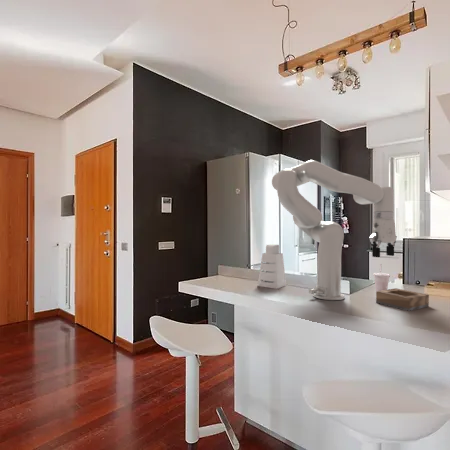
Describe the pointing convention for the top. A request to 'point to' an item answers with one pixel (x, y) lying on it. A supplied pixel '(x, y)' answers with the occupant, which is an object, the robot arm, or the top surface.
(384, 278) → the smoothie
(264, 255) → the grater
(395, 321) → the top surface
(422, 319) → the top surface
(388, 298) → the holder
